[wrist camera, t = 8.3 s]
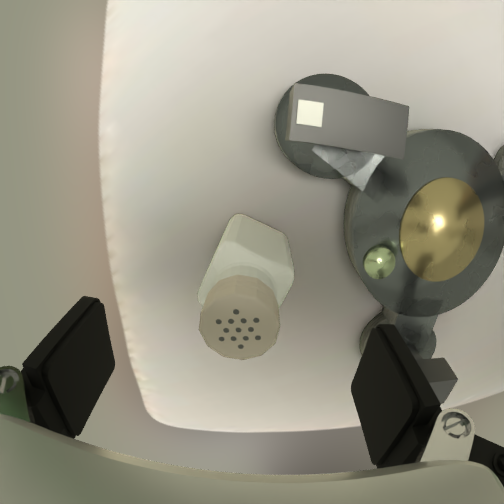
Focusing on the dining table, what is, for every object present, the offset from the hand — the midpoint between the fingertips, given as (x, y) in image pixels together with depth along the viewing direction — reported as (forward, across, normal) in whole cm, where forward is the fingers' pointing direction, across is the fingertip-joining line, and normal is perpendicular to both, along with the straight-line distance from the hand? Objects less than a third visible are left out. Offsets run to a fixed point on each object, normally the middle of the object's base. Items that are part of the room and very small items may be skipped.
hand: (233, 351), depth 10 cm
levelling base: (+11, -13, 0) cm, 17 cm away
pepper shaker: (+12, 0, 0) cm, 12 cm away
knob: (+8, -4, -8) cm, 12 cm away
